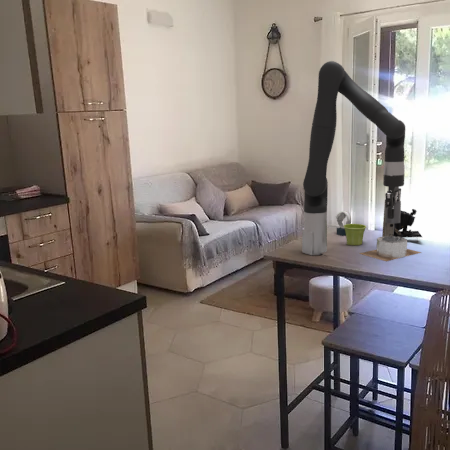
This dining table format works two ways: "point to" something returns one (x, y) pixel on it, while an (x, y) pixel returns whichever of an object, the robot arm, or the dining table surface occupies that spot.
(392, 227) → the vintage camera
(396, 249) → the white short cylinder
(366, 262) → the dining table surface
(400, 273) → the dining table surface
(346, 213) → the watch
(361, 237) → the plant pot
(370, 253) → the mount board
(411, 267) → the dining table surface
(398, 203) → the gray cylinder
